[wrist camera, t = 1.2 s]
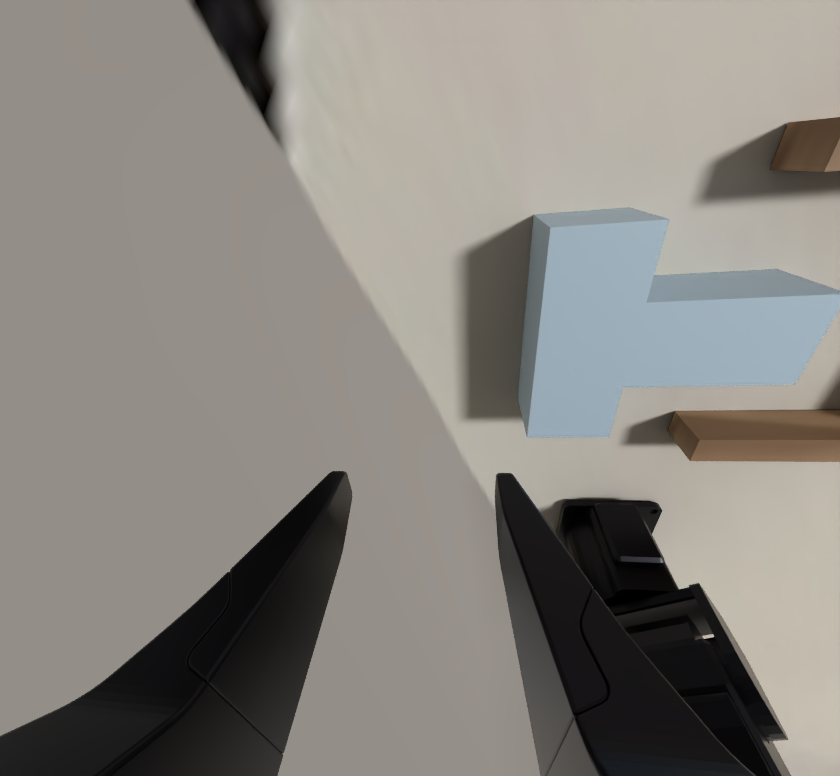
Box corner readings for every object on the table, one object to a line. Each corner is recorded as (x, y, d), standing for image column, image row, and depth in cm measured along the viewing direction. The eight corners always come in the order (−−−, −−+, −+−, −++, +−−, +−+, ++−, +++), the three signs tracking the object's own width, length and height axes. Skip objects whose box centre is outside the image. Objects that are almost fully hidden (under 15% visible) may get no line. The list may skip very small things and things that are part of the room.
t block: (718, 396, 20) (763, 437, 17) (517, 398, 21) (527, 437, 18) (811, 193, 14) (901, 203, 11) (533, 214, 16) (550, 227, 13)
